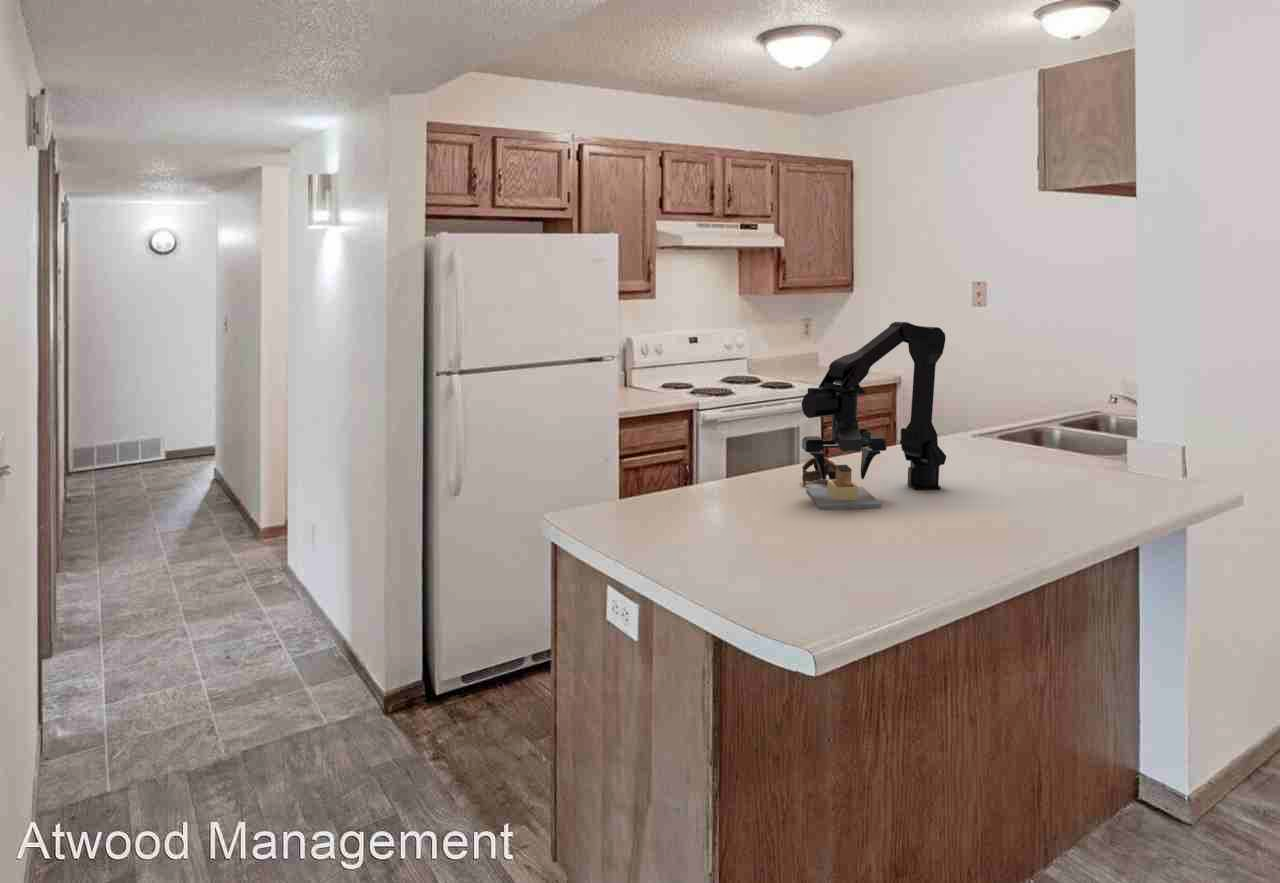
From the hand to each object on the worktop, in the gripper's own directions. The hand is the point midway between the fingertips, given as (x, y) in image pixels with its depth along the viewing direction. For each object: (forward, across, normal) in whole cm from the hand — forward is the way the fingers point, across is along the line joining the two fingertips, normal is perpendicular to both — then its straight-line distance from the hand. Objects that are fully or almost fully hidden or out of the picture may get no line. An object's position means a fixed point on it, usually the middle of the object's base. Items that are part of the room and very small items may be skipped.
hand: (842, 479), depth 204 cm
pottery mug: (+5, -1, +17) cm, 18 cm away
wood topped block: (+4, 0, 0) cm, 4 cm away
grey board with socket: (+5, 0, 0) cm, 5 cm away
